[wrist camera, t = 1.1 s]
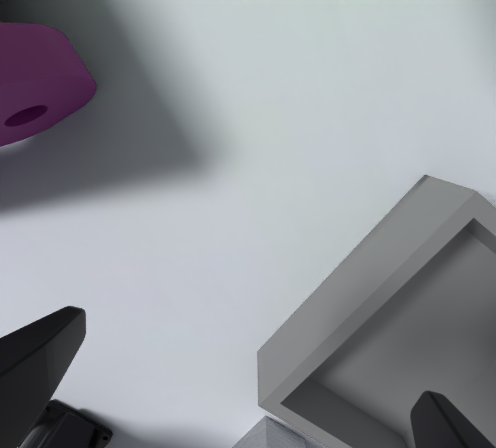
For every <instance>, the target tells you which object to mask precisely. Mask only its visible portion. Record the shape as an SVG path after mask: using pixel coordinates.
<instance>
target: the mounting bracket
mask: <svg viewBox="0 0 496 448" xmlns="http://www.w3.org/2000/svg"><path fill="white" fill-rule="evenodd" d="M96 87H97V86H96V83H95V81H94V79H93V78H92V76H91V75H90V73H89V72H88V70H87V68H86V67H85V65H84V64H83V62H82V61H81V59H80V57H79V56H78V54H77V53H76V51H75V50H74V48H73V46H72V45H71V43H70V42H69V40H68V38H67V37H66V36H65V35H64V34H63V33H62V32H60V31H59V30H57V29H55V28H52V27H49V26H45V25H40V24H31V23H0V147H1V146H5V145H8V144H11V143H14V142H17V141H20V140H23V139H25V138H28V137H30V136H33V135H35V134H37V133H39V132H42V131H44V130H46V129H48V128H50V127H52V126H53V125H55V124H56V123H58V122H59V121H61V120H63V119H64V118H66V117H67V116H69V115H70V114H72V113H73V112H75V111H77V110H78V109H80V108H81V107H83V106H84V105H85V104H86V103H87V102H88V101H89V100H90V99H91V98H92V96H93V95H94V93H95V91H96Z"/></svg>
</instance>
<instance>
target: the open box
mask: <svg viewBox="0 0 496 448" xmlns="http://www.w3.org/2000/svg"><path fill="white" fill-rule="evenodd" d="M257 362H258V406H260V407H261V408H263V409H265V410H266V411H268V412H270V413H272V414H273V415H275V416H277V417H278V418H280V419H282V420H283V421H285V422H287V423H288V424H290V425H292V426H293V427H295V428H297V429H298V430H300V431H302V432H303V433H305V434H307V435H308V436H310V437H312V438H313V439H315V440H317V441H318V442H320V443H322V444H323V445H325V446H327V447H328V448H415V443H414V437H413V432H412V426H411V421H410V413H411V409H412V407H413V406H414V404H415V403H416V402H417V400H418V399H419V397H420V396H421V394H422V393H423V392H424V391H426V390H429V391H433V392H437V393H441V394H443V395H444V396H445V397H446V398H447V399H448V400H449V401H450V402H451V403H452V404H453V405H454V406H455V407H456V408H457V409H458V410H459V411H460V412H461V413H462V414H463V415H464V416H465V417H466V418H467V419H468V420H469V421H470V422H471V423H472V424H473V425H474V426H475V427H476V428H477V429H478V430H479V431H480V432H481V433H482V434H483V435H484V436H485V437H486V438H487V439H488V440H489V441H490V442H491V443H492V444H493V445H494V446H495V447H496V208H495V207H494V206H493V205H491V204H490V203H489V202H488V201H487V200H486V199H485V198H484V197H482V196H481V195H480V194H479V193H478V192H477V191H475V190H472V189H468V188H465V187H462V186H459V185H456V184H453V183H450V182H446V181H443V180H440V179H437V178H434V177H431V176H428V175H424V176H423V177H422V178H421V179H420V180H419V181H418V182H417V183H416V184H415V185H414V187H413V188H412V189H411V190H410V191H409V192H408V193H407V194H406V195H405V196H404V197H403V198H402V199H401V200H400V201H399V202H398V203H397V205H396V206H395V207H394V208H393V209H392V210H391V211H390V212H389V213H388V214H387V215H386V216H385V217H384V218H383V219H382V220H381V221H380V223H379V224H378V225H377V226H376V227H375V228H374V229H373V230H372V231H371V232H370V233H369V234H368V235H367V236H366V237H365V238H364V239H363V241H362V242H361V243H360V244H359V245H358V246H357V247H356V248H355V249H354V250H353V251H352V252H351V253H350V254H349V255H348V256H347V257H346V259H345V260H344V261H343V262H342V263H341V264H340V265H339V266H338V267H337V268H336V269H335V270H334V271H333V272H332V273H331V274H330V275H329V277H328V278H327V279H326V280H325V281H324V282H323V283H322V284H321V285H320V286H319V287H318V288H317V289H316V290H315V291H314V292H313V293H312V295H311V296H310V297H309V298H308V299H307V300H306V301H305V302H304V303H303V304H302V305H301V306H300V307H299V308H298V309H297V310H296V311H295V313H294V314H293V315H292V316H291V317H290V318H289V319H288V320H287V321H286V322H285V323H284V324H283V325H282V326H281V327H280V328H279V329H278V331H277V332H276V333H275V334H274V335H273V336H272V337H271V338H270V339H269V340H268V341H267V342H266V343H265V344H264V345H263V346H262V347H261V349H260V350H259V351H258V352H257Z"/></svg>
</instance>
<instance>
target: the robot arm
mask: <svg viewBox="0 0 496 448" xmlns="http://www.w3.org/2000/svg"><path fill="white" fill-rule="evenodd" d="M85 335H86V313H85V310H84V309H82V308H78V307H74V306H67V307H64V308H62V309H60V310H58V311H56V312H54V313H52V314H50V315H47V316H45V317H43V318H41V319H39V320H37V321H35V322H33V323H31V324H29V325H27V326H24V327H22V328H20V329H18V330H16V331H14V332H12V333H10V334H8V335H6V336H4V337H2V338H0V448H17V447H18V448H104V447H105V446H106V445H107V444H108V443H109V442H110V440H111V438H112V436H113V433H112V432H111V431H110V430H108V429H106V428H104V427H102V426H100V425H98V424H96V423H94V422H92V421H91V420H89V419H87V418H85V417H83V416H81V415H79V414H77V413H75V412H73V411H71V410H70V409H68V408H66V407H64V406H62V405H60V404H58V403H56V402H54V401H49V400H50V399H51V397H52V396H53V394H54V392H55V390H56V389H57V387H58V385H59V383H60V382H61V380H62V378H63V376H64V375H65V373H66V371H67V369H68V367H69V366H70V364H71V362H72V360H73V359H74V357H75V355H76V353H77V351H78V350H79V348H80V346H81V344H82V343H83V341H84V338H85ZM410 421H411V426H412V432H413V437H414V443H415V448H496V447H495V446H494V445H493V444H492V443H491V442H490V441H489V440H488V439H487V438H486V437H485V436H484V435H483V434H482V433H481V432H480V431H479V430H478V429H477V428H476V427H475V426H474V425H473V424H472V423H471V422H470V421H469V420H468V419H467V418H466V417H465V416H464V415H463V414H462V413H461V412H460V411H459V410H458V409H457V408H456V407H455V406H454V405H453V404H452V403H451V402H450V401H449V400H448V399H447V398H446V397H445V396H444V395H443V394H441V393H437V392H433V391H429V390H426V391H424V392H423V393H422V394H421V396H420V397H419V399H418V400H417V402H416V403H415V404H414V406H413V407H412V409H411V413H410Z"/></svg>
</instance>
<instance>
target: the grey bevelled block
mask: <svg viewBox="0 0 496 448" xmlns="http://www.w3.org/2000/svg"><path fill="white" fill-rule="evenodd" d="M232 448H306V444H305V439H304V438H302V437H301V436H299V435H297V434H296V433H294V432H292V431H291V430H289V429H287V428H285V427H284V426H282V425H280V424H279V423H277V422H275V421H274V420H272V419H270V418H269V417H267V416H264V417H263V418H262V419H261V420H260V421H259V422H258V423H257V424H256V425H255V426H254V427H253V428H252V429H251V430H250V431H249V432H248V433H247V434H246V435H245V436H244V437H243V438H242V439H240V440H239V441H238V442H237V443H236V444H235V445H234V446H233V447H232Z"/></svg>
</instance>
